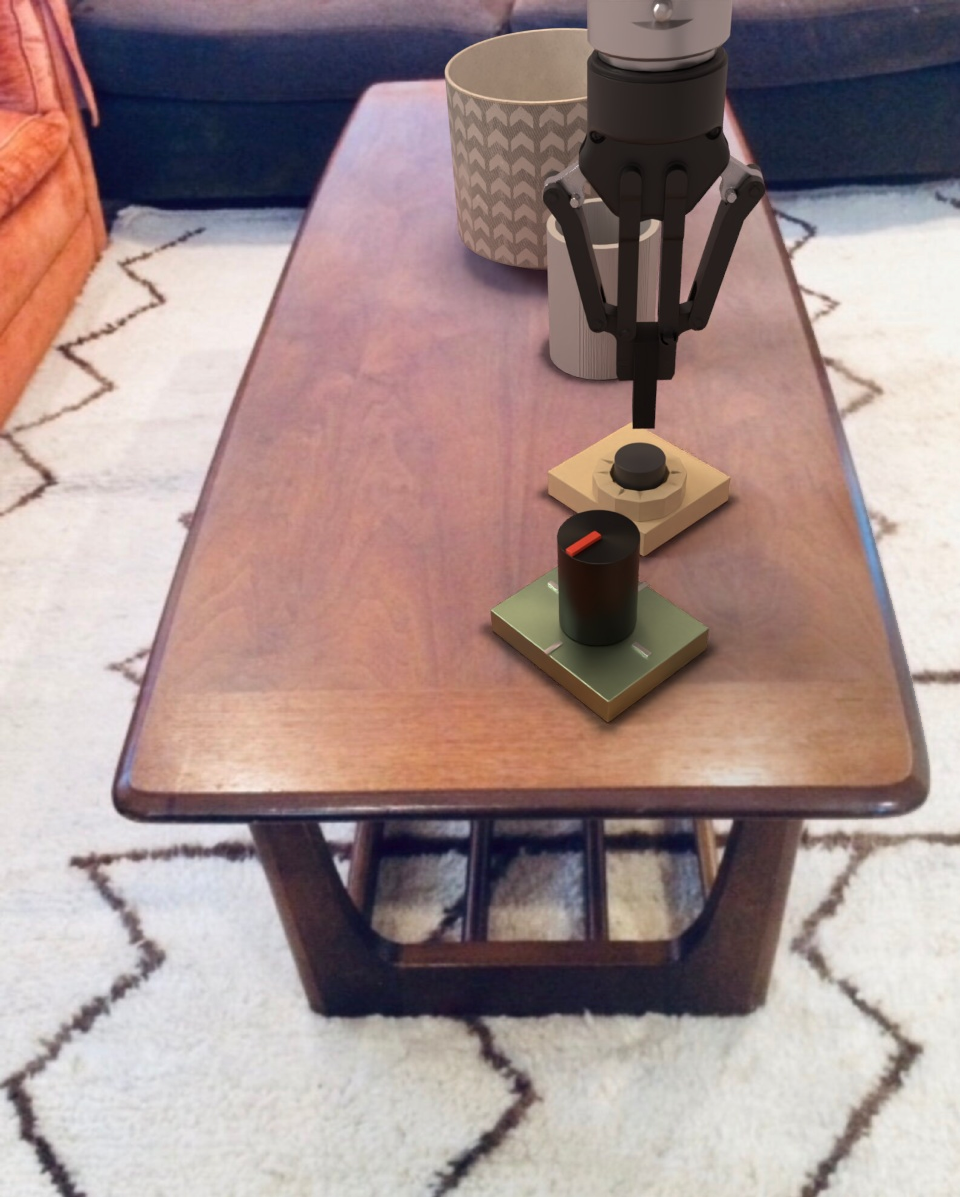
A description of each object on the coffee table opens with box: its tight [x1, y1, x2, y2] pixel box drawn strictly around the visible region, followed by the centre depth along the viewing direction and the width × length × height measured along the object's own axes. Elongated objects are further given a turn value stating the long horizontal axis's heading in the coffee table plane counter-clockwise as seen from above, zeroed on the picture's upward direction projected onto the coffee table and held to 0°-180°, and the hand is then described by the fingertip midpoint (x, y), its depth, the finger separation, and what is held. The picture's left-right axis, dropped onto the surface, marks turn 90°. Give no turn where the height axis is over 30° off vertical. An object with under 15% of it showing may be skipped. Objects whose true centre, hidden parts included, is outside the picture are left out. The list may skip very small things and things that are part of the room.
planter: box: [444, 27, 600, 271], centre depth 105 cm, size 19×19×18 cm
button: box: [614, 442, 666, 491], centre depth 78 cm, size 4×4×2 cm
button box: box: [547, 421, 731, 557], centre depth 81 cm, size 10×9×4 cm
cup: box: [547, 198, 661, 381], centre depth 93 cm, size 9×9×12 cm
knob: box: [556, 510, 641, 646], centre depth 68 cm, size 5×5×7 cm
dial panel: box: [490, 565, 710, 723], centre depth 72 cm, size 11×9×2 cm
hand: (643, 417), depth 75 cm, fingers closed
